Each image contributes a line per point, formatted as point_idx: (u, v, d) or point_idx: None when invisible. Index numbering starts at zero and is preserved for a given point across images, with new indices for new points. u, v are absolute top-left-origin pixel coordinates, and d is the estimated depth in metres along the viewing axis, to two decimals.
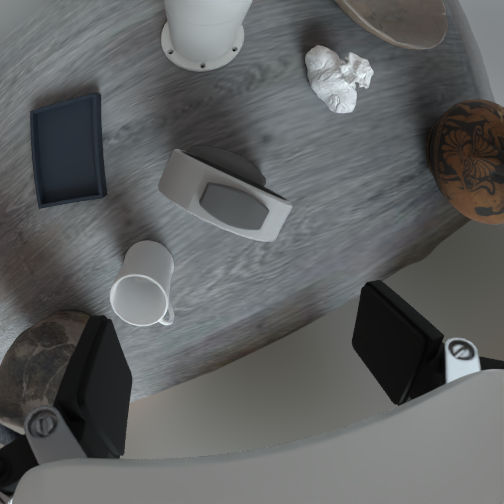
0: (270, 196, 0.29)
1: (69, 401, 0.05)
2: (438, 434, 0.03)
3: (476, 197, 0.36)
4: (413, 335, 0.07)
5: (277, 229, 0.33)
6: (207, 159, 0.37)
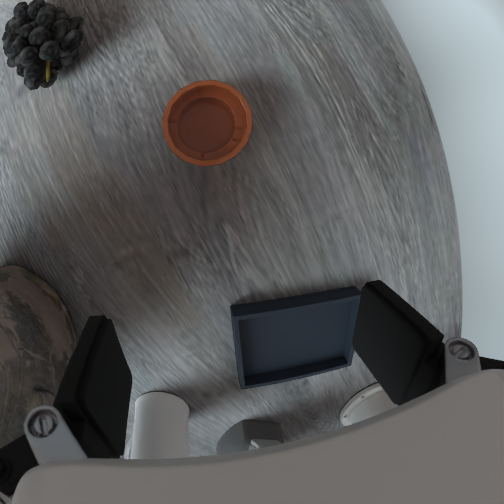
0: None
1: (69, 401, 0.05)
2: (438, 434, 0.03)
3: None
4: (413, 335, 0.07)
5: None
6: None
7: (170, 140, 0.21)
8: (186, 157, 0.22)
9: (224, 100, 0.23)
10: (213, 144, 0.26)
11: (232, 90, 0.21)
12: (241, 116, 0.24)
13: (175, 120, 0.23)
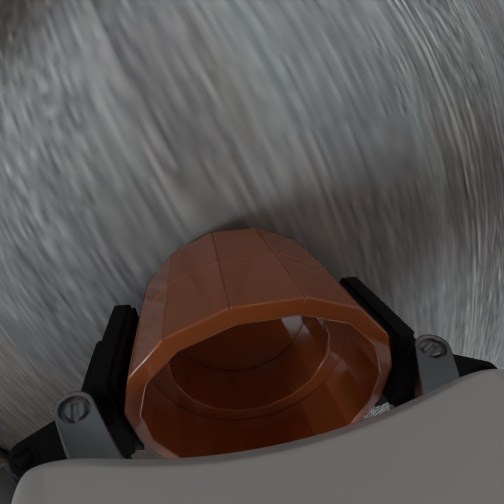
0: None
1: (102, 385, 0.06)
2: (438, 434, 0.03)
3: None
4: None
5: None
6: None
7: (163, 449, 0.07)
8: None
9: None
10: (257, 356, 0.12)
11: (361, 325, 0.06)
12: (344, 333, 0.09)
13: None
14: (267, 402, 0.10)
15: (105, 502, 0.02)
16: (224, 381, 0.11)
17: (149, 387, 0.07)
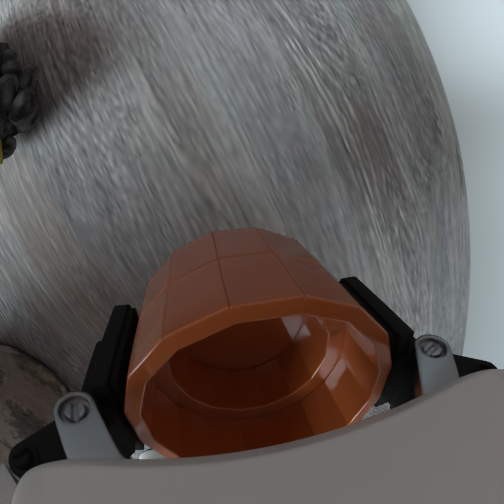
0: None
1: (102, 385, 0.06)
2: (438, 434, 0.03)
3: None
4: None
5: None
6: None
7: (163, 449, 0.07)
8: None
9: None
10: (257, 355, 0.12)
11: (361, 324, 0.06)
12: (343, 332, 0.09)
13: None
14: (267, 401, 0.10)
15: (105, 502, 0.02)
16: (224, 380, 0.11)
17: (149, 386, 0.07)
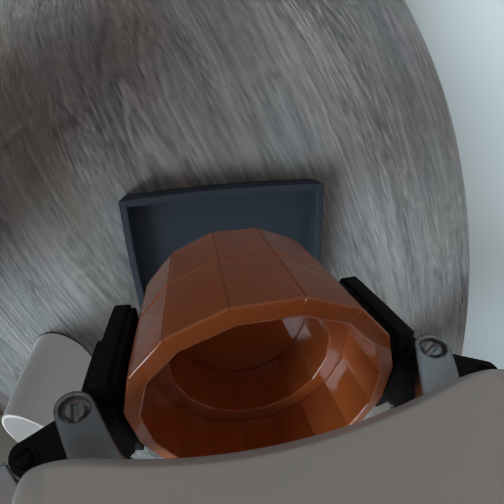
0: None
1: (103, 385, 0.06)
2: (438, 434, 0.03)
3: None
4: None
5: None
6: None
7: (163, 450, 0.07)
8: None
9: None
10: (257, 356, 0.12)
11: (362, 325, 0.06)
12: (344, 333, 0.09)
13: None
14: (267, 403, 0.10)
15: (105, 502, 0.02)
16: (224, 381, 0.11)
17: (149, 388, 0.07)
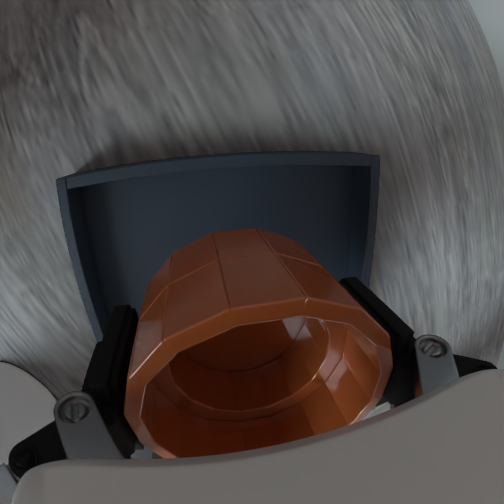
0: None
1: (103, 385, 0.06)
2: (438, 434, 0.03)
3: None
4: None
5: None
6: None
7: (163, 451, 0.07)
8: None
9: None
10: (257, 356, 0.12)
11: (363, 326, 0.06)
12: (344, 334, 0.09)
13: None
14: (267, 403, 0.10)
15: (105, 502, 0.02)
16: (224, 382, 0.11)
17: (149, 388, 0.07)
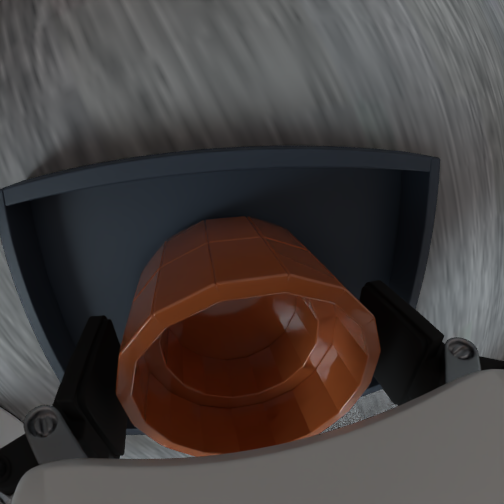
0: None
1: (69, 401, 0.05)
2: (438, 434, 0.03)
3: None
4: (413, 335, 0.07)
5: None
6: None
7: (154, 433, 0.07)
8: (202, 453, 0.08)
9: None
10: (249, 344, 0.12)
11: (347, 306, 0.06)
12: (333, 319, 0.09)
13: None
14: (259, 389, 0.10)
15: (105, 502, 0.02)
16: (217, 369, 0.11)
17: (141, 370, 0.08)
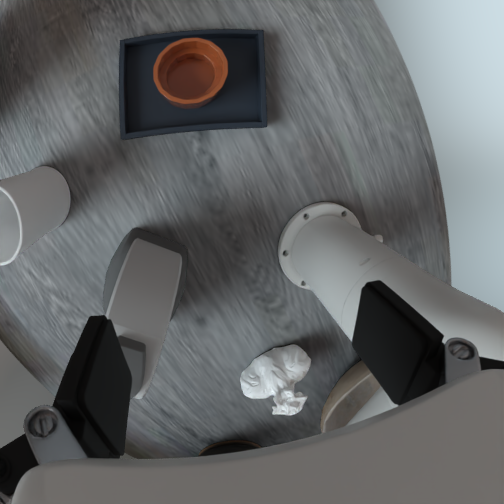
0: (143, 395, 0.23)
1: (69, 401, 0.05)
2: (438, 434, 0.03)
3: None
4: (413, 335, 0.07)
5: None
6: None
7: (159, 83, 0.23)
8: (171, 96, 0.24)
9: (206, 55, 0.25)
10: (196, 93, 0.28)
11: (212, 45, 0.23)
12: (220, 68, 0.26)
13: (164, 71, 0.25)
14: (196, 96, 0.27)
15: (105, 502, 0.02)
16: None
17: (159, 74, 0.24)
